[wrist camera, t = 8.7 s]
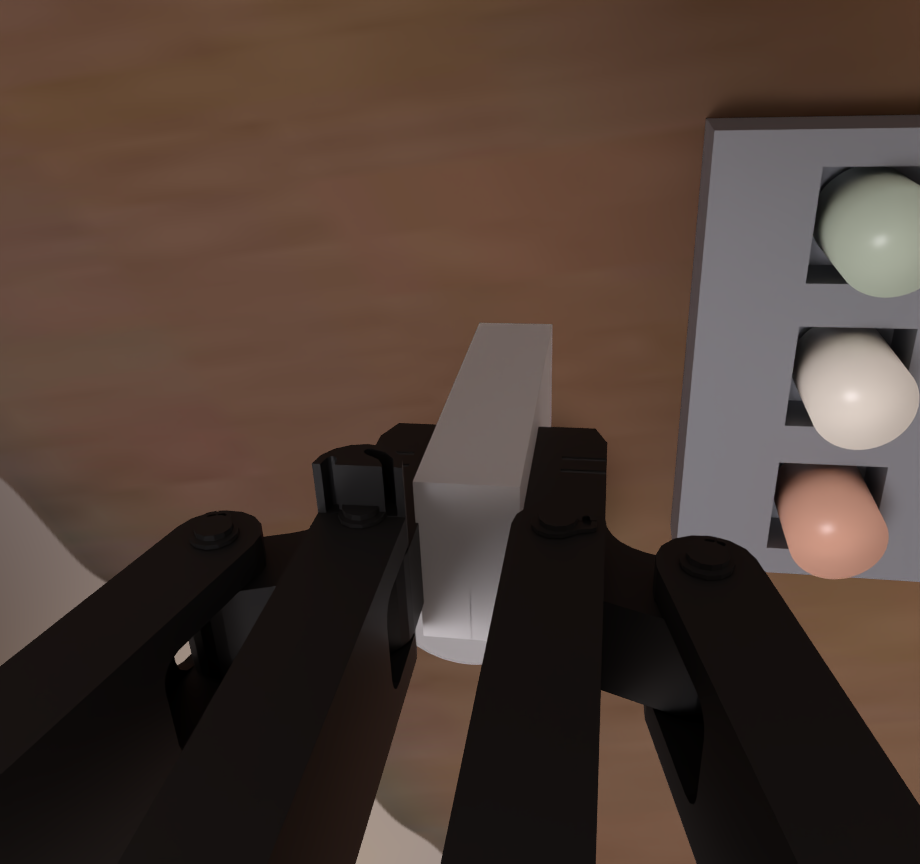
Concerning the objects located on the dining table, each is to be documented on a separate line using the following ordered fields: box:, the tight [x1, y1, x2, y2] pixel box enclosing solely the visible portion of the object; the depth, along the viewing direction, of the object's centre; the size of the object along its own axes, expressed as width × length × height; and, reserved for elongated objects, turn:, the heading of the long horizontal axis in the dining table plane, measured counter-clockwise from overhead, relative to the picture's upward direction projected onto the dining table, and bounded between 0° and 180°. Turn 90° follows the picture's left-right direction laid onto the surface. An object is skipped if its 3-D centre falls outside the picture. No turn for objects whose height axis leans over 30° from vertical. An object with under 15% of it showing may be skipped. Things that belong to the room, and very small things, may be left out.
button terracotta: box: [774, 463, 889, 579], centre depth 43 cm, size 4×4×5 cm
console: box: [671, 115, 920, 582], centre depth 41 cm, size 22×14×4 cm, turn 3°
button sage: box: [813, 166, 920, 298], centre depth 36 cm, size 4×4×5 cm
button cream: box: [792, 327, 919, 450], centre depth 39 cm, size 4×4×5 cm
